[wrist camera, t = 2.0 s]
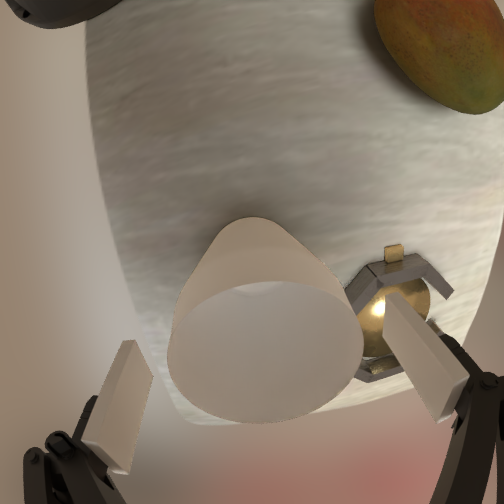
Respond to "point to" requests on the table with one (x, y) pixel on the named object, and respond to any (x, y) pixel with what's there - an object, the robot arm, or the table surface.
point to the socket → (373, 304)
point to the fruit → (447, 49)
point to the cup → (262, 328)
